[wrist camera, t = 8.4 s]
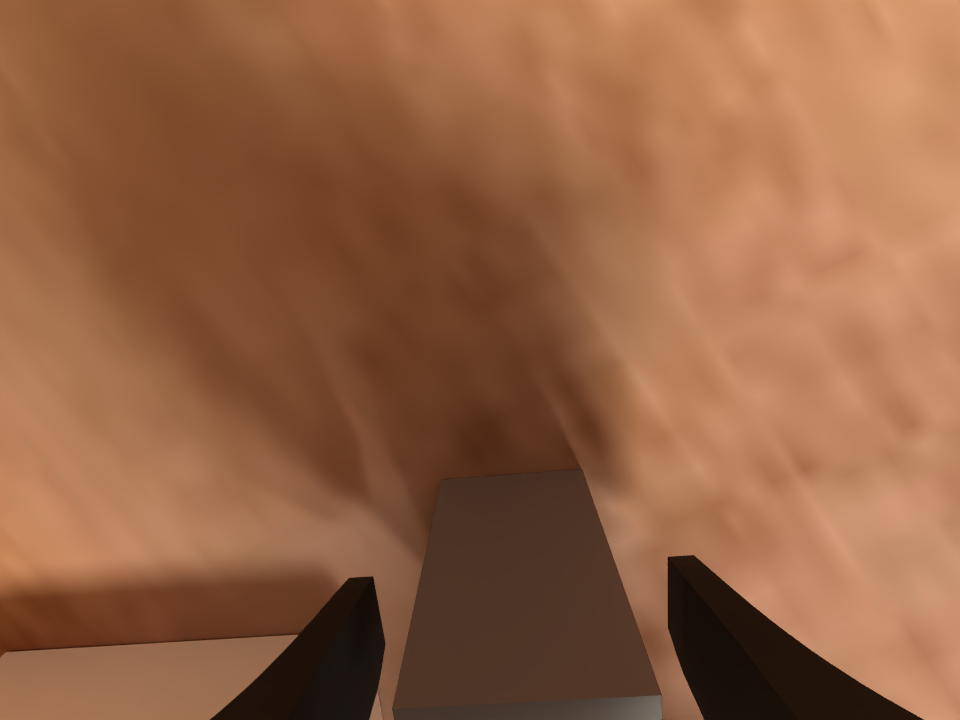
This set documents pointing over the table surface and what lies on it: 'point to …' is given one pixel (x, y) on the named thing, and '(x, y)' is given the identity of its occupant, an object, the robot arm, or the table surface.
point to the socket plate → (136, 679)
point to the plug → (522, 610)
